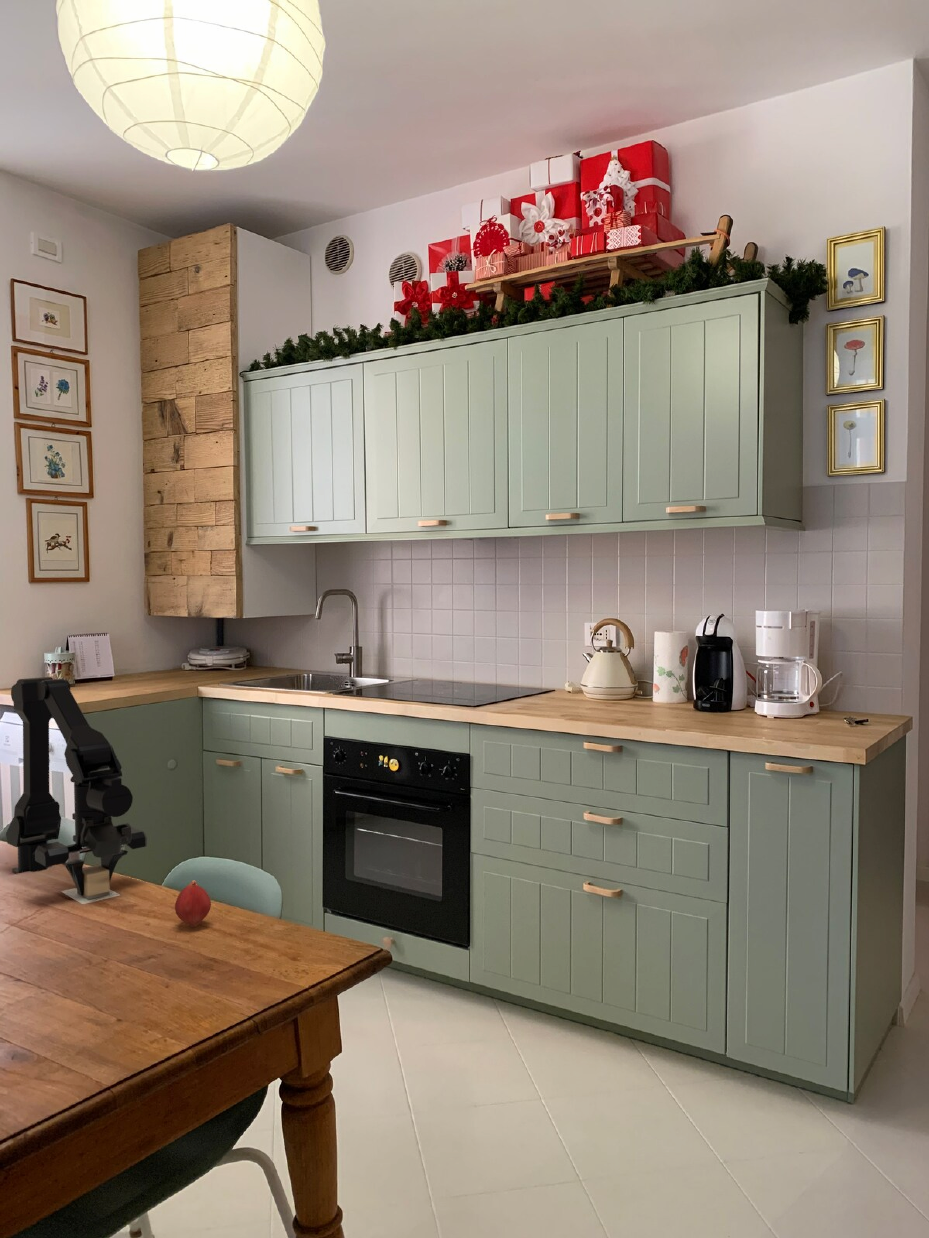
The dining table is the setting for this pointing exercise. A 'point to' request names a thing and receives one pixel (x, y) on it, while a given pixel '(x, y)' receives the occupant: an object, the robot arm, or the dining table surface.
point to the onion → (192, 904)
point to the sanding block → (95, 882)
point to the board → (82, 900)
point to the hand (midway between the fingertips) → (93, 892)
